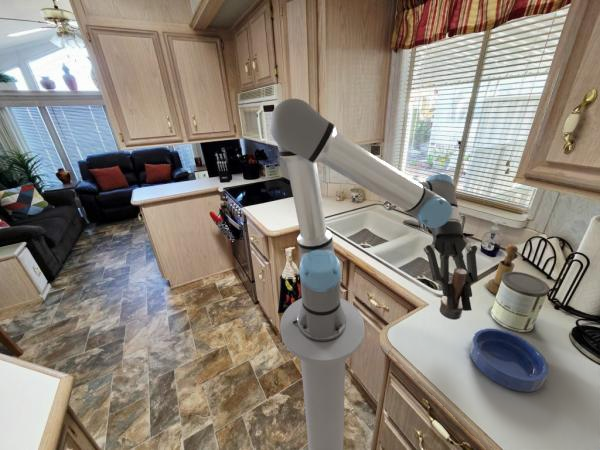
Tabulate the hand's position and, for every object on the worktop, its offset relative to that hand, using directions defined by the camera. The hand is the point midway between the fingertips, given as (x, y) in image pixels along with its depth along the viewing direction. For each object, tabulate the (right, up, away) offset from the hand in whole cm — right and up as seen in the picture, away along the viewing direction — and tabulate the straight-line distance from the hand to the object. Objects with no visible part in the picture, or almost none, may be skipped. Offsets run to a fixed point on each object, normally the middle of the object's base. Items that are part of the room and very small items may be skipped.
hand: (459, 310), depth 63 cm
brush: (+1, -3, +5) cm, 6 cm away
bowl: (+11, -14, 0) cm, 18 cm away
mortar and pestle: (+30, -1, +25) cm, 39 cm away
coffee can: (+24, -7, +13) cm, 28 cm away
